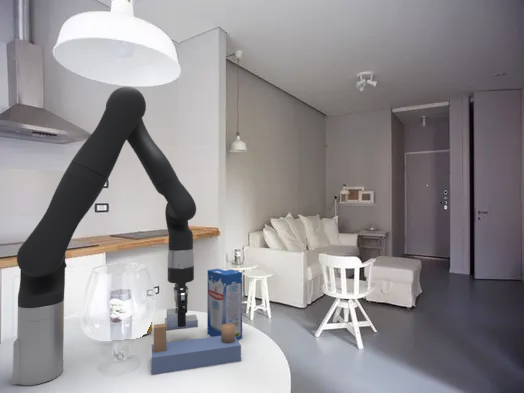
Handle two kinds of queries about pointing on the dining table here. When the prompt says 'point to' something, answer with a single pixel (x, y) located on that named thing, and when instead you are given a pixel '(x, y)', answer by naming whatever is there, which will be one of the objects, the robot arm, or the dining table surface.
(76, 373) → the dining table surface
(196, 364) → the hand plane
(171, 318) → the lever cap
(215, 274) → the milk carton
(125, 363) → the dining table surface
